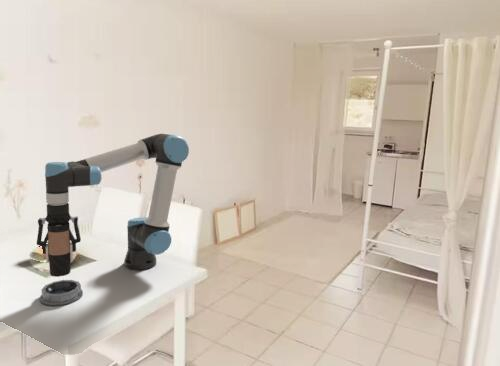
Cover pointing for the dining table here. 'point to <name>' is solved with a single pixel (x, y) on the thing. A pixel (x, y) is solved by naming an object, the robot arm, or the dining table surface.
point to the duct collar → (61, 293)
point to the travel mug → (59, 250)
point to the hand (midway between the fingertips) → (59, 260)
